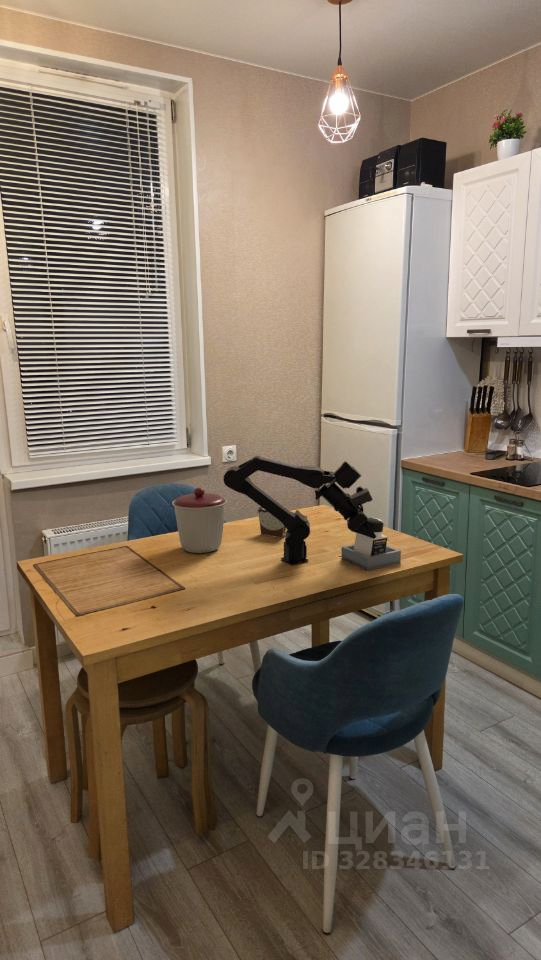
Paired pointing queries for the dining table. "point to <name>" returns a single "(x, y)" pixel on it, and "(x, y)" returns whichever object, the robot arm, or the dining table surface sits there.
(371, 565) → the open-top box
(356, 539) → the medicine bottle
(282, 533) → the food container
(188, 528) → the canister
